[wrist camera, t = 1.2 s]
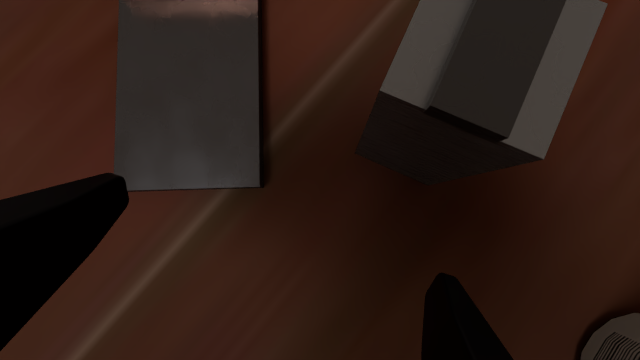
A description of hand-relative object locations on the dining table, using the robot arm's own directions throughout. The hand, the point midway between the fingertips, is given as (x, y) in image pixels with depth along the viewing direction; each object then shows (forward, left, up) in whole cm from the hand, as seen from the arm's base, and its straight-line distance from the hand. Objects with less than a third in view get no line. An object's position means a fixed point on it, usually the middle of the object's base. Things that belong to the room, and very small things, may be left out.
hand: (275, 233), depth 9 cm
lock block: (+1, -9, -13) cm, 16 cm away
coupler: (+14, +1, -13) cm, 19 cm away
